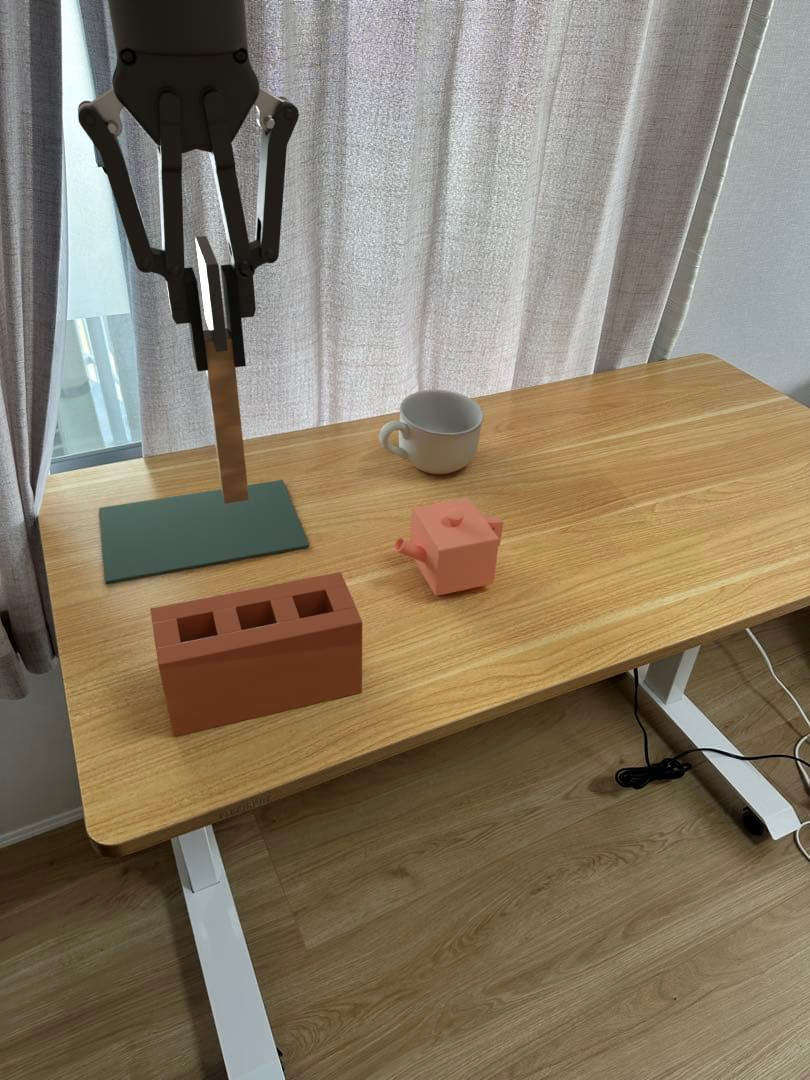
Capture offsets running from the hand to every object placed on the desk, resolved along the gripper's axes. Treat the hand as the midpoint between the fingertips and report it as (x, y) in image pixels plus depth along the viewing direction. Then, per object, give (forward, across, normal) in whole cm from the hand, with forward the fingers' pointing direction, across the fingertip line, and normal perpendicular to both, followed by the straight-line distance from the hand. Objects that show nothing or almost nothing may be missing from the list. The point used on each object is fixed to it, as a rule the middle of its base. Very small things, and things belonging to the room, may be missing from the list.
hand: (219, 360), depth 59 cm
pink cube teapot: (+31, -22, -6) cm, 38 cm away
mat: (+31, +2, -22) cm, 38 cm away
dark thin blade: (+12, 0, 0) cm, 12 cm away
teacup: (+31, -28, -28) cm, 50 cm away
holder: (+31, 0, +4) cm, 31 cm away
